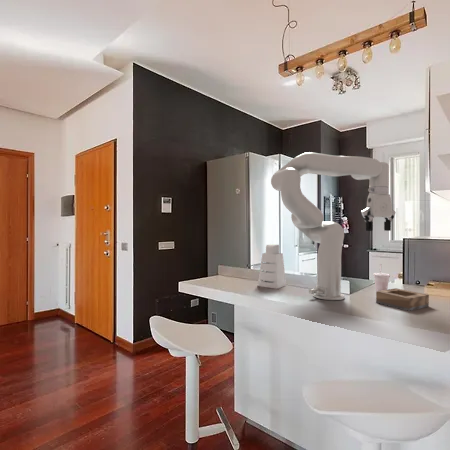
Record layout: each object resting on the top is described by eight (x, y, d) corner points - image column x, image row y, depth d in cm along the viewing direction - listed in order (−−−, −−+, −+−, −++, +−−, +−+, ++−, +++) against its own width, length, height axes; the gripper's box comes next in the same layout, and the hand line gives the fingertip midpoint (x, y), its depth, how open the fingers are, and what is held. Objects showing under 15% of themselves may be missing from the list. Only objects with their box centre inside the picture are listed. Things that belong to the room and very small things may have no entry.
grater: (257, 285, 158) (258, 244, 158) (267, 282, 167) (267, 243, 166) (277, 288, 152) (278, 245, 152) (286, 285, 161) (287, 244, 161)
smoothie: (370, 295, 142) (370, 262, 141) (384, 294, 142) (384, 263, 142) (378, 298, 135) (378, 265, 135) (392, 298, 136) (393, 265, 136)
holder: (409, 310, 117) (409, 298, 117) (376, 302, 128) (376, 291, 128) (428, 306, 124) (428, 294, 124) (395, 299, 135) (395, 288, 135)
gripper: (368, 190, 135) (368, 231, 136) (401, 191, 140) (401, 230, 141) (356, 191, 142) (355, 230, 143) (388, 192, 148) (387, 230, 148)
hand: (378, 230), depth 142 cm, fingers open, 9 cm apart
